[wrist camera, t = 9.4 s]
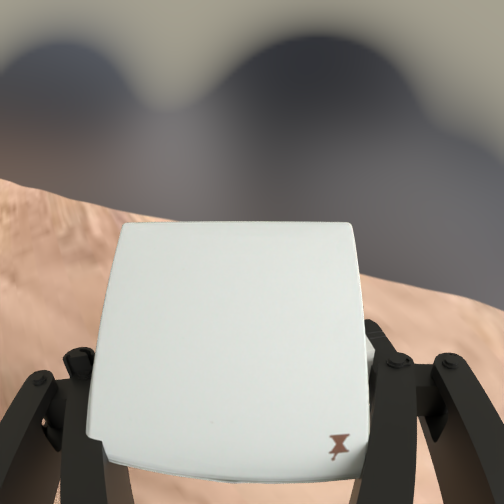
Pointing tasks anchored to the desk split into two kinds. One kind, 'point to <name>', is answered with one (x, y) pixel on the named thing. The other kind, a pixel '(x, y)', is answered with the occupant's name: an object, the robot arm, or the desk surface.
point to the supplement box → (233, 353)
